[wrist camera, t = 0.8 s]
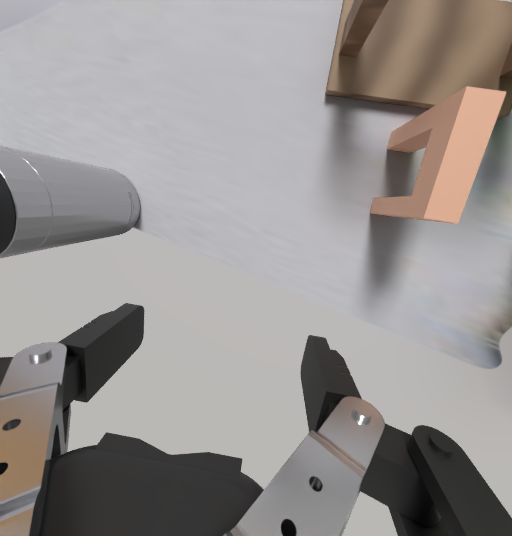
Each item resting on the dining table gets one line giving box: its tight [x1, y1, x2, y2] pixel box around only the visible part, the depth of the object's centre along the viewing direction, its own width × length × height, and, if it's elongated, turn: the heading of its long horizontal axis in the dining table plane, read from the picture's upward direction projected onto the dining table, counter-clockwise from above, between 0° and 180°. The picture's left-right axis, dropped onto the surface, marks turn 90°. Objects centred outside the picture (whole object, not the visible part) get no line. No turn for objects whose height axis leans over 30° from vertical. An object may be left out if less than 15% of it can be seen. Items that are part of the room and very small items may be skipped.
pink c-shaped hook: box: [370, 86, 506, 224], centre depth 25 cm, size 3×10×12 cm, turn 172°
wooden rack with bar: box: [325, 0, 512, 118], centre depth 20 cm, size 21×10×16 cm, turn 82°
